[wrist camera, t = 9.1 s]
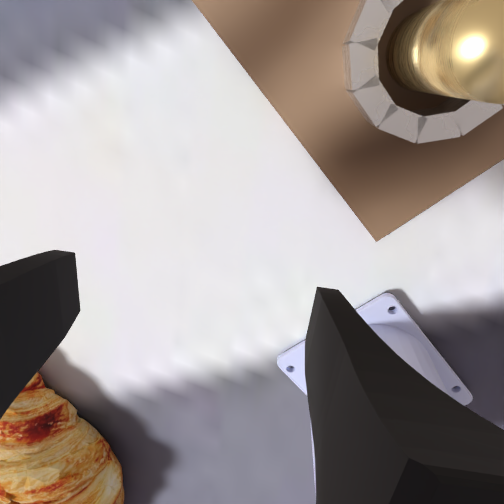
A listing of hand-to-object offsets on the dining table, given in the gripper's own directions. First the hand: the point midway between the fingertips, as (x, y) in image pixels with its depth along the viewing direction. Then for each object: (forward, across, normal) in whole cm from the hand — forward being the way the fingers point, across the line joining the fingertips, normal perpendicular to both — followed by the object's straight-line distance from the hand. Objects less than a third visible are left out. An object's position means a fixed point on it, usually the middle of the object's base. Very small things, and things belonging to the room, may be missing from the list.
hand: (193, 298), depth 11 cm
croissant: (+10, +10, +22) cm, 26 cm away
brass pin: (+9, -7, -8) cm, 14 cm away
